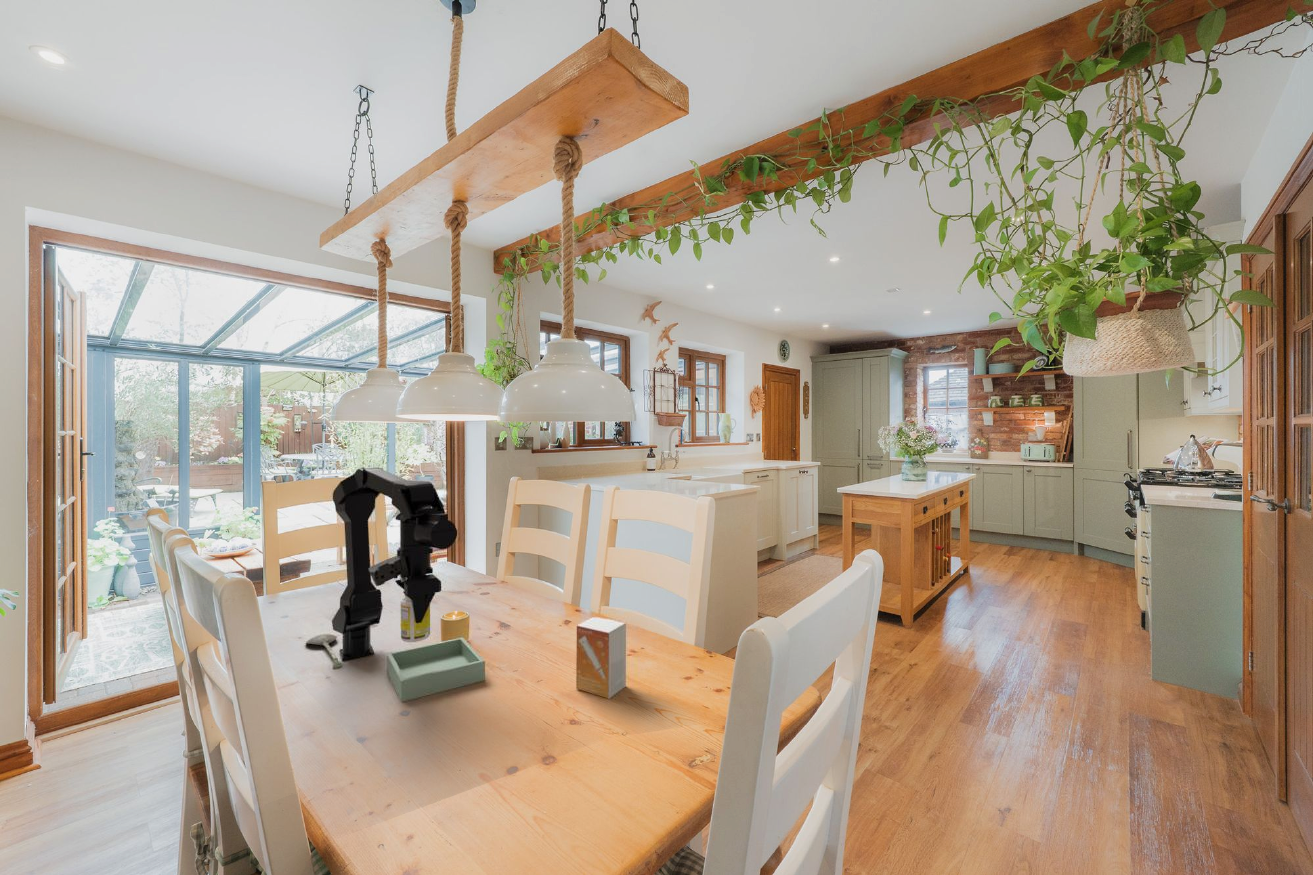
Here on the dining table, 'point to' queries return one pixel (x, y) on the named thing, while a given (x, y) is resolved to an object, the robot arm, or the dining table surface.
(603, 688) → the small box
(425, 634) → the supplement bottle
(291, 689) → the dining table surface
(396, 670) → the open box
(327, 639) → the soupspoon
